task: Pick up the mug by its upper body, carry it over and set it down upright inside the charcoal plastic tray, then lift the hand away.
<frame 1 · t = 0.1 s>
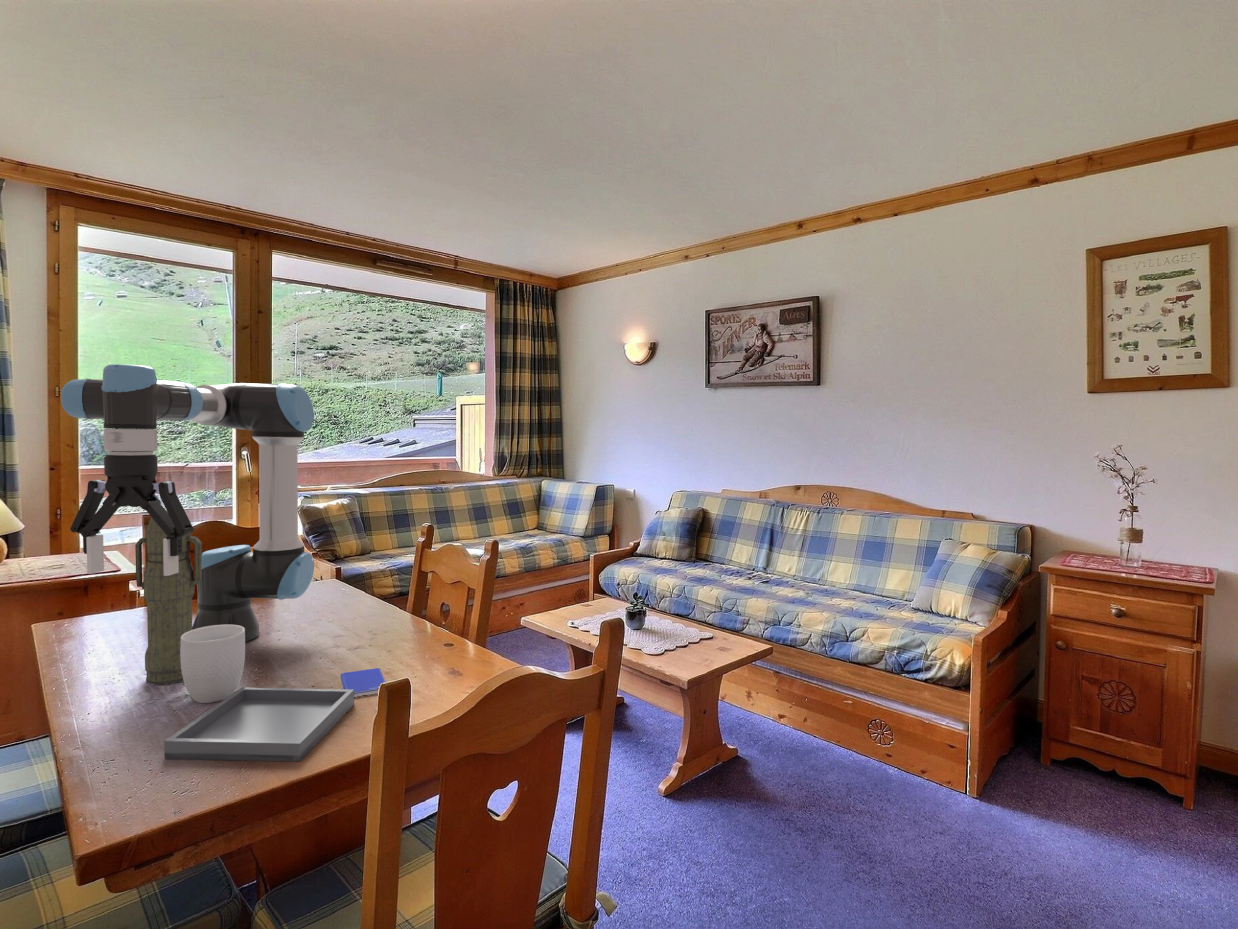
hand: (133, 573, 115), 28 cm above the table, tool pointing down, fingers open, 13 cm apart
tray: (268, 729, 117), on the table
thermos: (171, 678, 140), on the table
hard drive: (363, 688, 138), on the table
mug: (210, 696, 131), on the table
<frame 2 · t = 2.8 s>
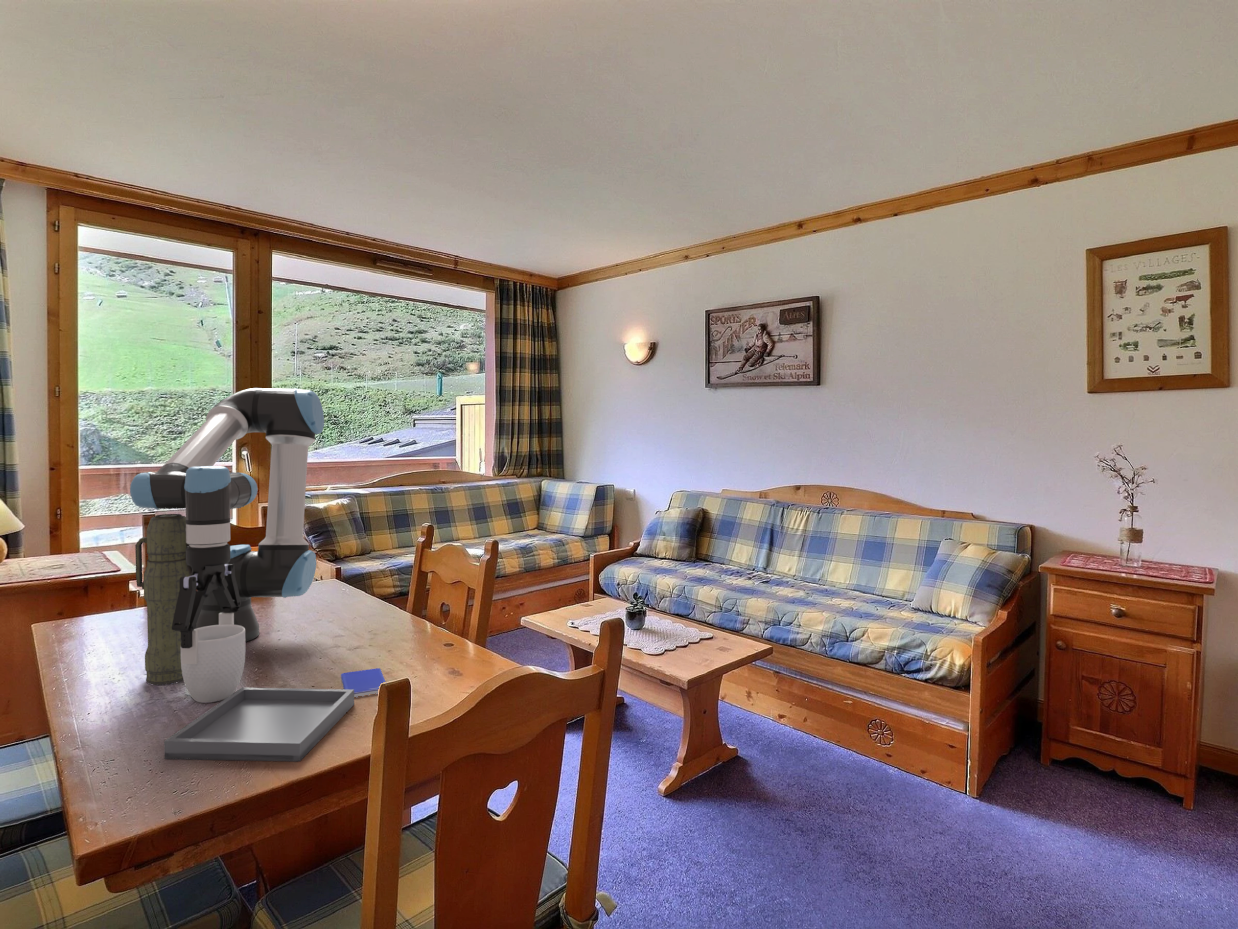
hand: (209, 653, 130), 9 cm above the table, tool pointing down, fingers closed on mug, 11 cm apart
mug: (210, 696, 131), on the table, touching gripper
everything else where it was.
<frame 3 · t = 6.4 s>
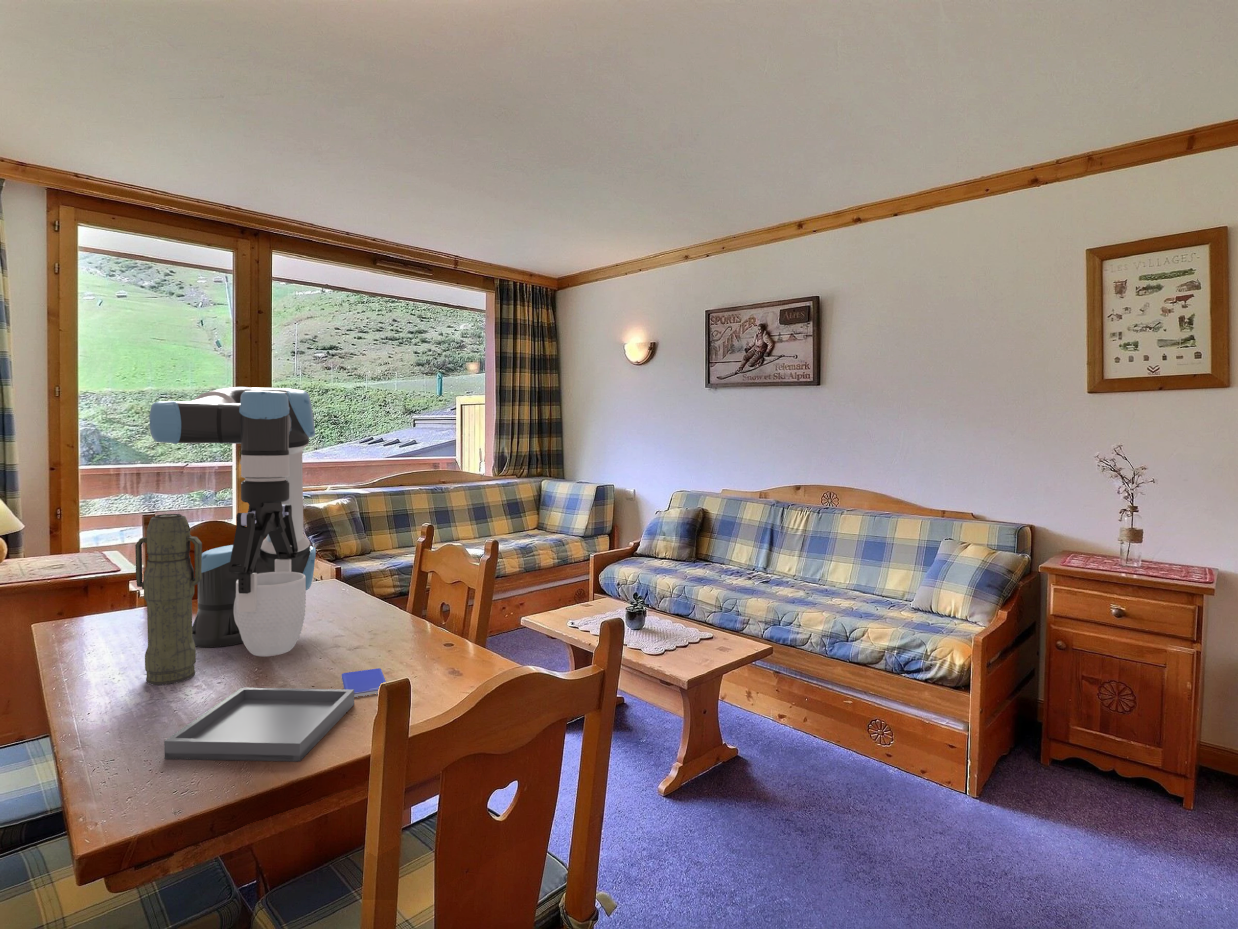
hand: (266, 602, 116), 23 cm above the table, tool pointing down, fingers closed on mug, 11 cm apart
mug: (268, 650, 117), point 14 cm above the table, touching gripper
everything else where it was.
when the fingers open (10 cm above the table, at t = 9.8 s): mug stays where it is, resting on tray.
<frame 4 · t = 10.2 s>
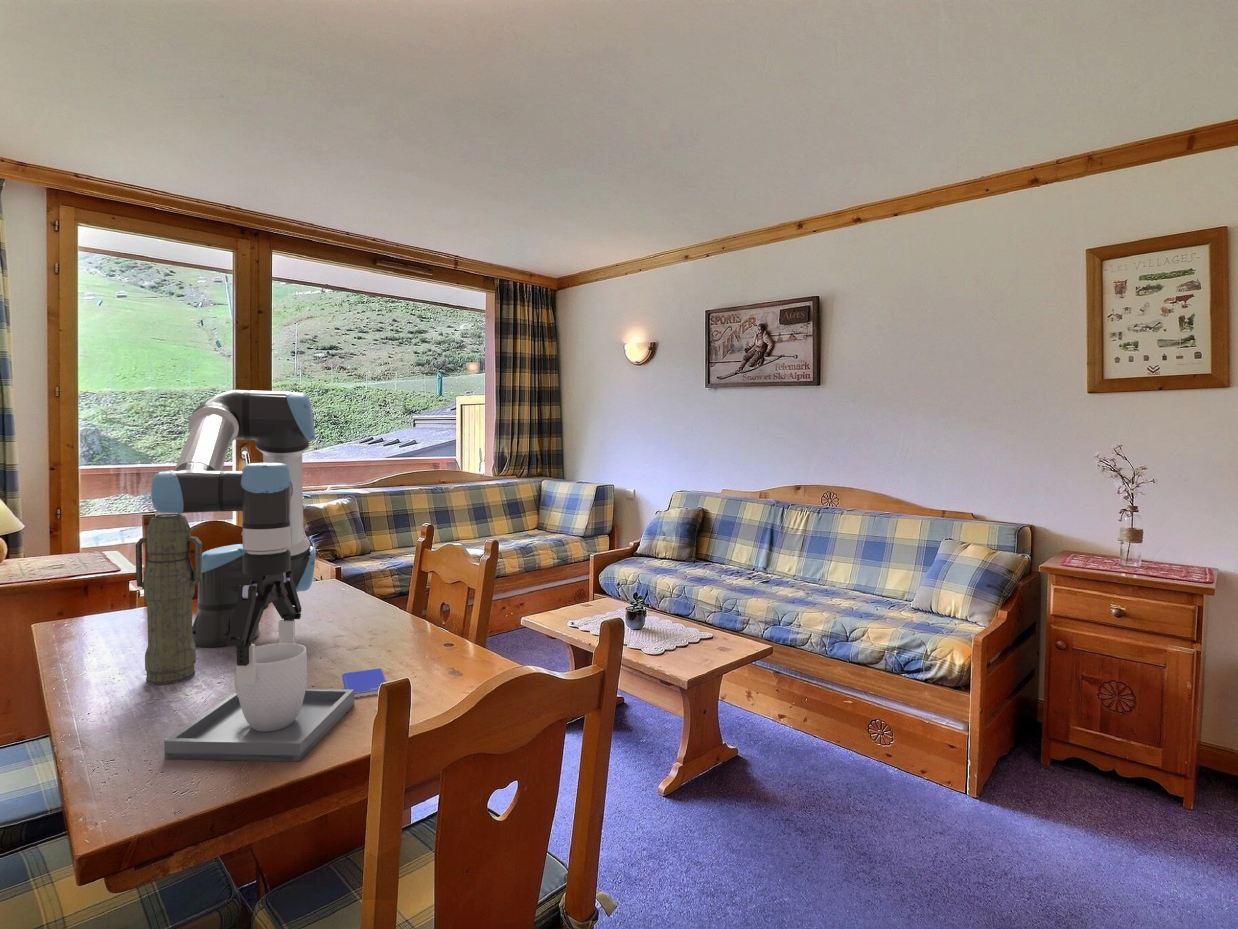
hand: (267, 668, 116), 11 cm above the table, tool pointing down, fingers open, 13 cm apart
mug: (269, 723, 117), point 1 cm above the table, touching tray
everything else where it was.
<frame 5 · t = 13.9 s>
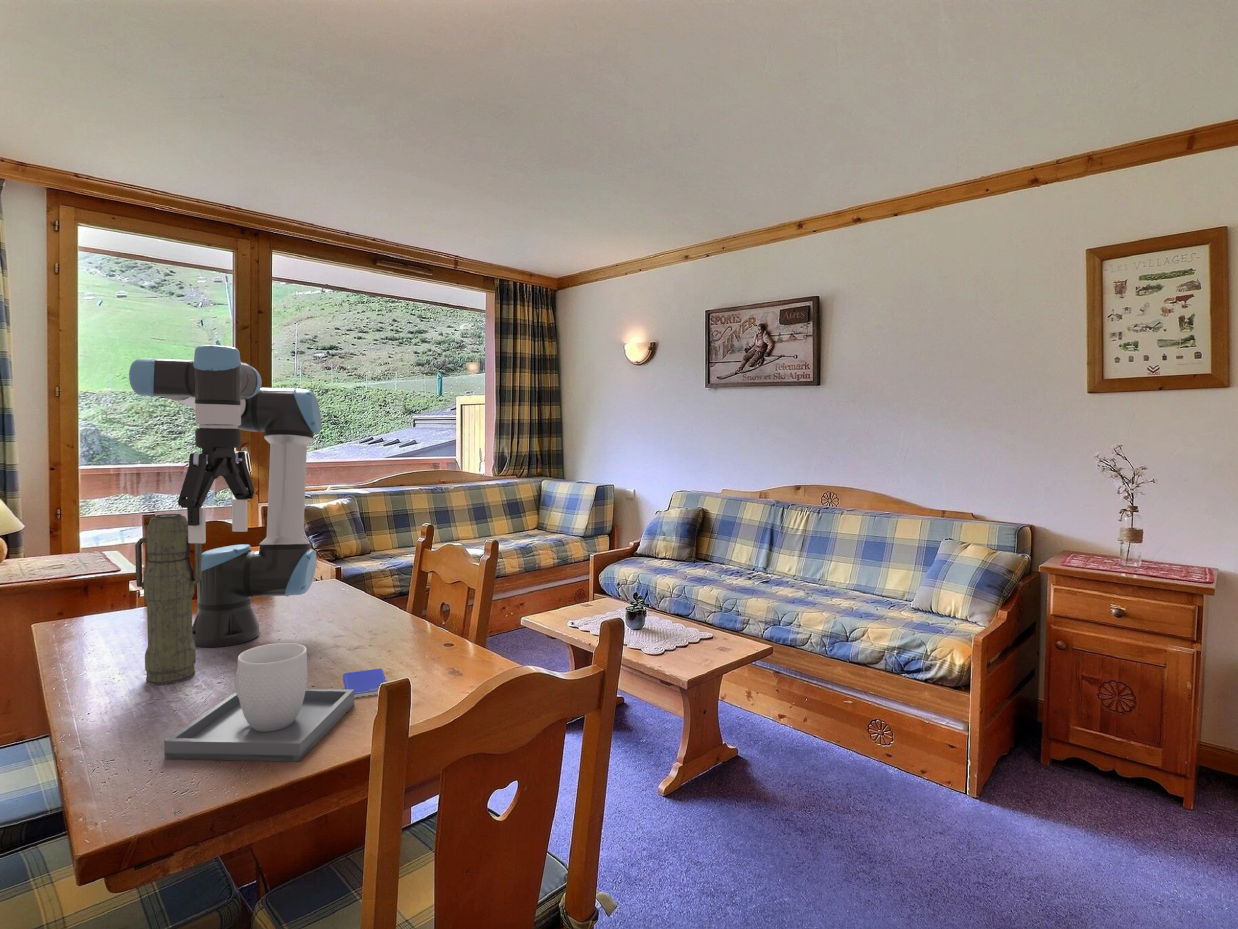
hand: (219, 537, 126), 33 cm above the table, tool pointing down, fingers open, 13 cm apart
nothing on the table moved.
at the end: mug inside the target area on the tray (0.4 cm from its centre), point 0.8 cm above the tray's base; mug tilted 0°; the gripper is holding nothing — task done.
